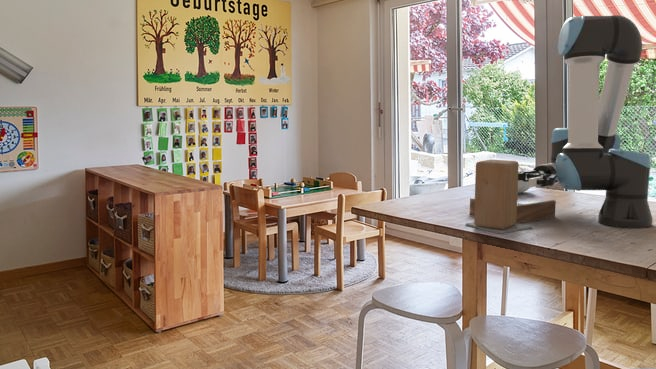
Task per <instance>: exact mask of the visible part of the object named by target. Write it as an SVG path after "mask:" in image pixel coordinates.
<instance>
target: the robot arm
mask: <svg viewBox="0 0 656 369" xmlns="http://www.w3.org/2000/svg"><path fill="white" fill-rule="evenodd" d="M642 40H643V39H642V36H641V32H640V30H639V28H638V27H637V26H636V24H635V23H634V21H632V20H631V19H629V17H626V16H624V15H623V16H622V15H618V14H617V15H616V14H615V15H581V16H572V17H568V19H566V20H565V22H564V23H563V24H562V27H561V29H560V32H559V36H558V41H557V50H558V51H557V52H558V55H559V56H563V57H564V58H563V60H564V61H563V62H564V63H565V64H566V65H567V67H568V72H569V74H568V76H569V77H568V116H567V117H568V120H567V122H568V123H567V125H568V126H567V127H557V128H554V129H553V130H552V135H551V140H550V142H551V145H550V146H551V150H550V163H545V164H538V165H537V166H535V167H534V168H533V169H532V170H518V180H522V181H524V182H529V185H528V187H530V188H529V189H531V188H536V187H543V188H545V187H550V188H551V187H553V186H554V185H558V184H560V186H561V188H564V189H565V190H569V191H578V192H579V191H605V198H604V201H603V203H602V205H601V208H600V210H599V212H598V216H597V222H598V223H600V224H602V225H605V226H606V225H607V226H611V227H618V228H627V229H644V228H645V229H646V228H650V227H652V226H653V221H654V220H653V216H652V211H651V209H650V205H649V202H648V197H649V196H648V195H649V186H650V185H649V184H650V173H651V157H650V155H649V154H647V153H646V152H640V151H634V150H628V149H627V150H626V149H621V146H622V145H621V143H622V142H621V141H622V140H621V136H620V135H619V134H618V133H617V129H618V126H619V122H620V118H621V116H622V111H623V108H624V105H625V101H626V96H627V93H628V91H629V90H628V89H629V86H630V82H631V80H632V76H633V72H634V68H635V65H637V64H639V63H640V60H641V56H642V53H643V41H642ZM605 60H607V62H608V63H607V66H606V67H607V68H606V71H605V75H604V80H603V83H602V87H601V92H600V65H601V64H602V63H603V62H604V61H605ZM526 178H527V179H528V180H526Z"/></svg>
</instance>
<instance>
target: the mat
mask: <svg viewBox="0 0 656 369" xmlns="http://www.w3.org/2000/svg"><path fill="white" fill-rule="evenodd" d="M466 226H467V227H471V228H475V229H479V230H482V231H483V230H484V231H487V232H491V233H495V234H499V235H502V234H508V233H513V232H519V231H524V230H530V229H533V226H532V225H528V224H523V223H516V224H515V225H513V226H511V227H508V228H506V229H503V230H500V229H493V228H486V227H480V226H476V225H475V224H474V221H473V222H467V223H465V227H466Z"/></svg>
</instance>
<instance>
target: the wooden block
mask: <svg viewBox="0 0 656 369" xmlns="http://www.w3.org/2000/svg"><path fill="white" fill-rule="evenodd" d="M519 167H520V166H519V162H518V161H516V160H505V159H504V160H503V159H487V160H480V161H477V162H476V164H475V183H474V184H475V185H474V186H475V187H474V198H475V211H474V215H473V217H474V220H473V222H474V224H475V225H476V226H480V227H486V228H493V229H500V230H503V229H506V228H508V227H511V226H513V225H515V224H516V218H517V205H518V194H519V193H518V171H519ZM517 193H518V194H517Z"/></svg>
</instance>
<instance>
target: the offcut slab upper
mask: <svg viewBox="0 0 656 369" xmlns="http://www.w3.org/2000/svg"><path fill="white" fill-rule="evenodd" d="M537 202H538V201H536V200H535V201H534V200H530V201H524V202H517V205H523V204H530V203H537Z"/></svg>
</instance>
